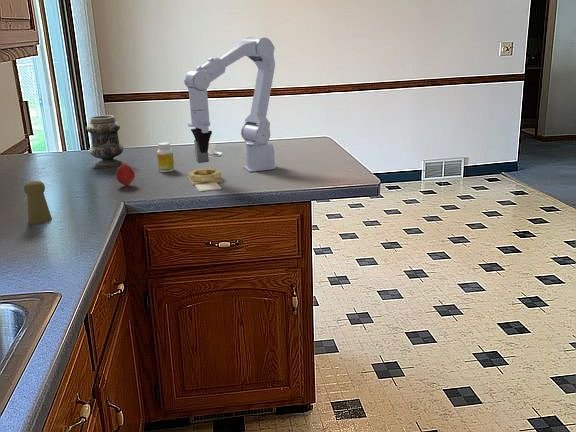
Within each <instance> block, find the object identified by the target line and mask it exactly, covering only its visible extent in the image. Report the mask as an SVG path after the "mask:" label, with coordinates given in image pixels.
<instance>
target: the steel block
mask: <svg viewBox="0 0 576 432" xmlns="http://www.w3.org/2000/svg"><path fill="white" fill-rule="evenodd" d="M193 141H194V142H193V143H194V150H195V152H194V153H195V162H197V164H204V163H209V162H210V160H209V159H210V157H208V156H209V154H208V152H207V153H201V151H200V148H199V144H198V140H195V139H194V140H193Z"/></svg>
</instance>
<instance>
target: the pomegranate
mask: <svg viewBox="0 0 576 432" xmlns="http://www.w3.org/2000/svg"><path fill="white" fill-rule="evenodd" d="M135 174H136V173H135V171H134V168H132V167H131V166H130V165H128V164H127V162H126V161H124V162H122V164H121V165H119V167H118V168H117V169H116V172H115V178H116V180H117V182H118V183H119V184H121V185H123V186H125V187H129V186H130V184H131V183H132V182H133V181H134V180H135V178H136V175H135Z"/></svg>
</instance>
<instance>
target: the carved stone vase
mask: <svg viewBox="0 0 576 432" xmlns="http://www.w3.org/2000/svg"><path fill="white" fill-rule="evenodd" d="M89 119H90V121H89V123H88V124H87V126H86V130H87V132H88V133H89V134H90V138H91V146H90V147H89V150H88V151H89V154H90V155H91V156H92V157H94V158H96V159H101V160H99V161H98V162H96V163H95V164H94V167H96V168H99V169H102V168H103V169H104V168H107V169H109V168H114V167H118V166H121V165H122V164H123V162H122V161H121V160H119V159H116V157H118V156H120V155H121V154H123V152H124V146H123V145H122V143H120V141H119V134H118V131H120V129H121V125H120V123H119V122H118V121H117V120H116V119H115V116H114V115H112V114H111V115H109V114H107V115H105V114H102V115H94V116H91V117H90V118H89ZM114 158H115V159H114Z"/></svg>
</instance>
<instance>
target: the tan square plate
mask: <svg viewBox="0 0 576 432" xmlns="http://www.w3.org/2000/svg"><path fill="white" fill-rule="evenodd" d="M187 180H188V182H190V184H191V185H192V186H195V185H199V184H207V183H216V182H217V184H219V183H224V178H222V177H221V178H219V179H217V180H215V181H207V182H196V181H191V180H190V179H189V175H187Z"/></svg>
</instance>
